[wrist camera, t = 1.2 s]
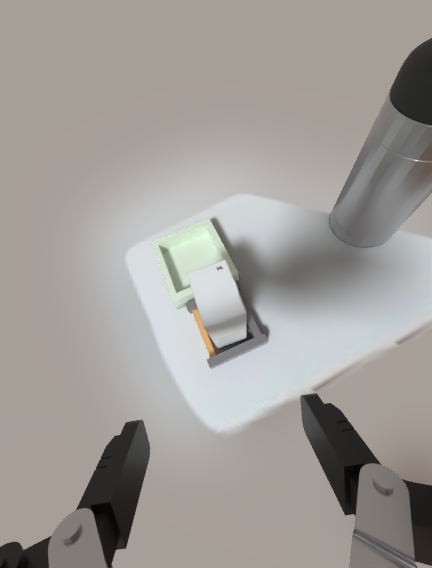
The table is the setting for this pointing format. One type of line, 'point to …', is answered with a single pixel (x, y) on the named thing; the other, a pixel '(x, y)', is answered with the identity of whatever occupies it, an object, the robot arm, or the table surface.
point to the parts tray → (189, 258)
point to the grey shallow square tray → (235, 351)
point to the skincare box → (219, 303)
